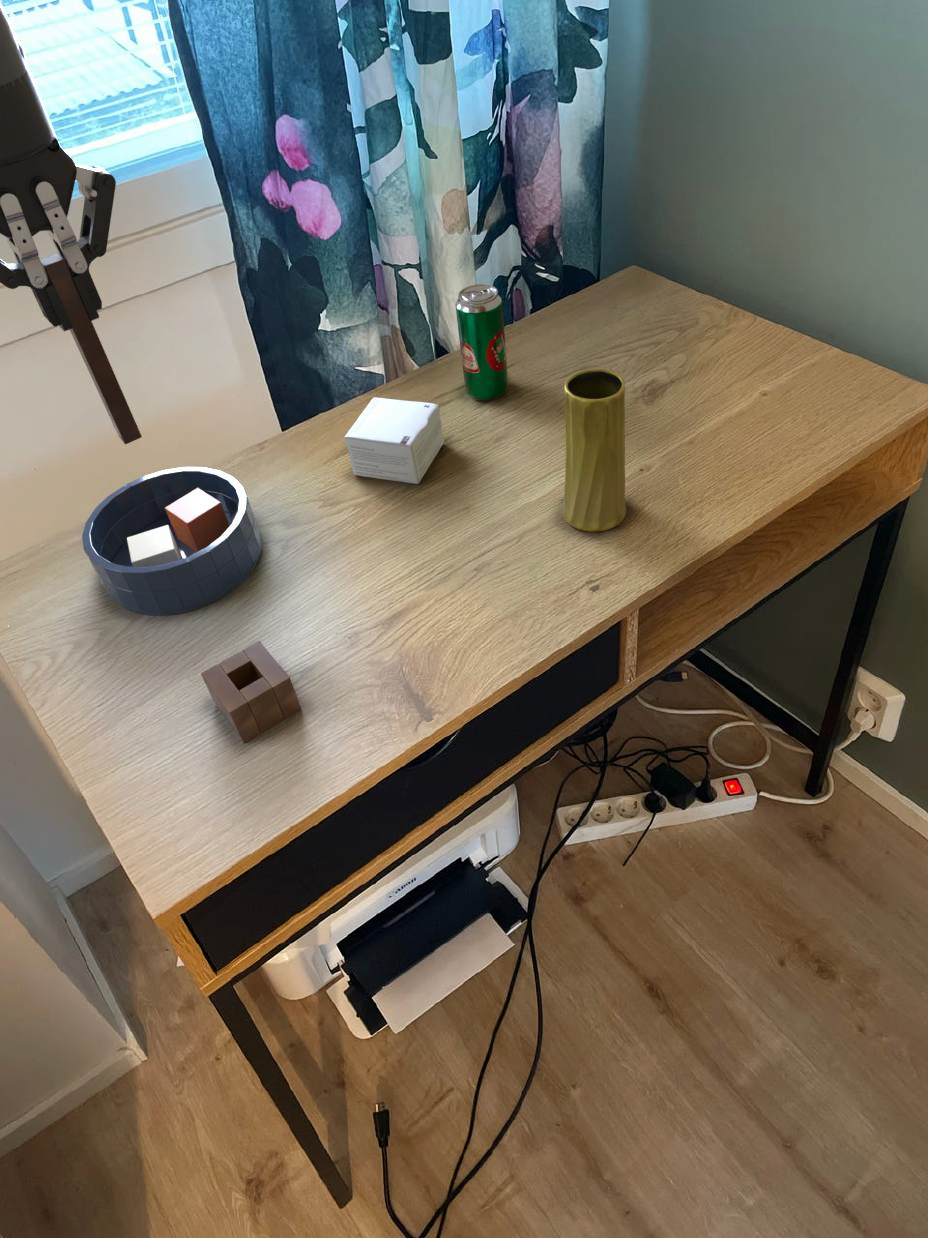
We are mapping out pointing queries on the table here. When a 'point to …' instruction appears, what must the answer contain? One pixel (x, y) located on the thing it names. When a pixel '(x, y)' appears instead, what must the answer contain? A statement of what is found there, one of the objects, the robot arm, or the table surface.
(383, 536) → the table surface
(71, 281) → the stirring stick
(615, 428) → the vase
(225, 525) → the terracotta block
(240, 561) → the bowl
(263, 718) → the stick stand
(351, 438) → the small box
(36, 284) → the robot arm
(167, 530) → the cream block
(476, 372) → the soda can
